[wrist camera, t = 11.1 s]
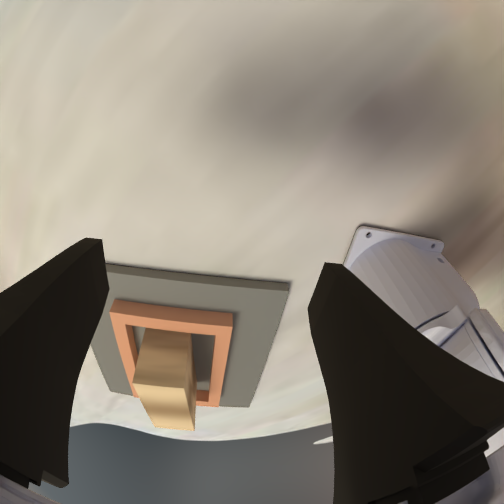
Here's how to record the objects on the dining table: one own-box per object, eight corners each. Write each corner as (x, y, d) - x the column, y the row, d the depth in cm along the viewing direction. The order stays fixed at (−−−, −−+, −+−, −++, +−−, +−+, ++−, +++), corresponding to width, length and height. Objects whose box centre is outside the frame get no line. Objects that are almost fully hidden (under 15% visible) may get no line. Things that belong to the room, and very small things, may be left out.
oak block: (197, 382, 29) (194, 430, 24) (161, 379, 28) (154, 426, 23) (190, 329, 24) (183, 388, 19) (146, 326, 23) (132, 383, 18)
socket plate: (287, 283, 23) (292, 304, 21) (248, 400, 33) (249, 417, 31) (71, 259, 20) (59, 277, 18) (111, 385, 31) (107, 400, 29)
